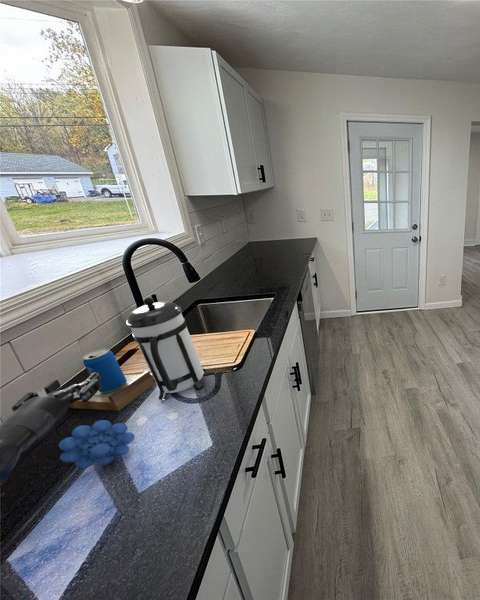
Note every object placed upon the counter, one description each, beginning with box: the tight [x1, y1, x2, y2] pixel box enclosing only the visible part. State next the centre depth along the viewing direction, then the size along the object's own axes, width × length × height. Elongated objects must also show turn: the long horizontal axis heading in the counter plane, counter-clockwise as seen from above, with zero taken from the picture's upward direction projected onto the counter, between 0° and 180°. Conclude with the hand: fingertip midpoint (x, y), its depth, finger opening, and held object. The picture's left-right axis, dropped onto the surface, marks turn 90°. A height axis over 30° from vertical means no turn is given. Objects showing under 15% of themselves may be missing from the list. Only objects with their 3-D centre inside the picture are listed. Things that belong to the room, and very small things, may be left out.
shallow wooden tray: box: [68, 370, 156, 412], centre depth 95 cm, size 18×12×5 cm, turn 81°
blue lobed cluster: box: [58, 419, 135, 469], centre depth 70 cm, size 12×7×12 cm, turn 138°
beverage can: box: [82, 347, 127, 393], centre depth 92 cm, size 6×6×12 cm
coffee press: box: [125, 297, 206, 402], centre depth 91 cm, size 17×16×30 cm
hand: (77, 378), depth 81 cm, fingers open, 8 cm apart
